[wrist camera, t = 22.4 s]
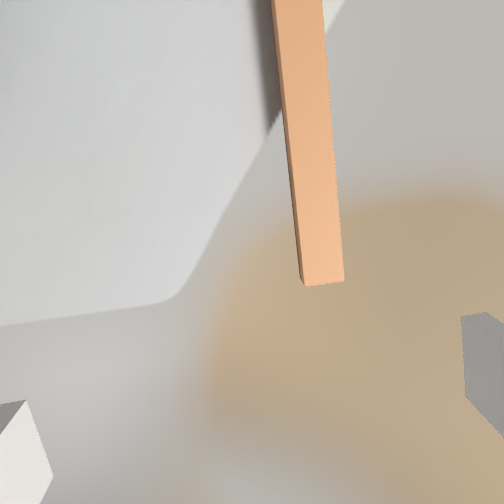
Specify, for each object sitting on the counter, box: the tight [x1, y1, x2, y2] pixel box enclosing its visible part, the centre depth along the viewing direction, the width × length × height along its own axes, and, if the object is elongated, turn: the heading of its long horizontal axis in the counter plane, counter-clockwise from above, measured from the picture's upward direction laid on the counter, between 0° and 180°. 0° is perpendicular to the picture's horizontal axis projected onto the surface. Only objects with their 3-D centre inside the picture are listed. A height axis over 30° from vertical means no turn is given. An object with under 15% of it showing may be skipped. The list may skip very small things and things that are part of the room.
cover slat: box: [271, 0, 344, 287], centre depth 43 cm, size 28×4×3 cm, turn 7°
